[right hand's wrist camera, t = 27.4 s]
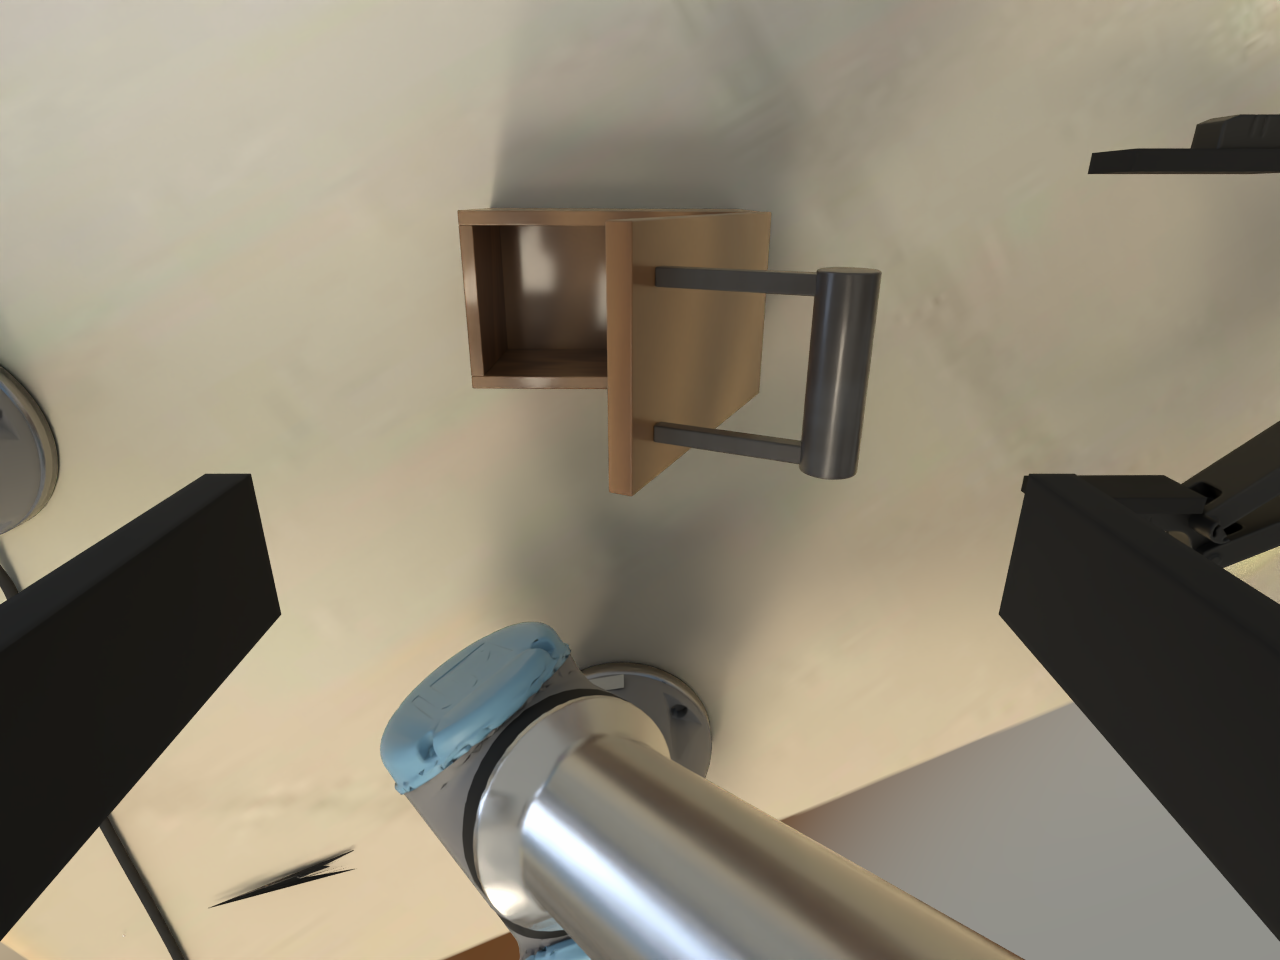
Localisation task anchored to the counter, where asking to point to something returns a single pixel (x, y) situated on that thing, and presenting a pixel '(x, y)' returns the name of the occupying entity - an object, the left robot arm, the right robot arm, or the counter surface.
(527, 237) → the chest
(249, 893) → the feather
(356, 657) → the counter surface
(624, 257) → the lid
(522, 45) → the counter surface
